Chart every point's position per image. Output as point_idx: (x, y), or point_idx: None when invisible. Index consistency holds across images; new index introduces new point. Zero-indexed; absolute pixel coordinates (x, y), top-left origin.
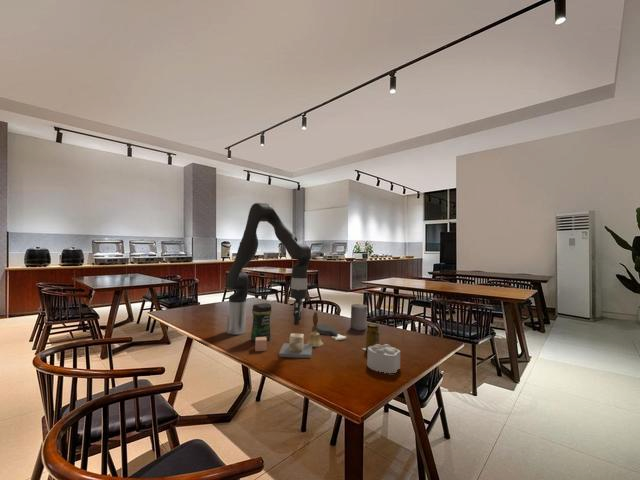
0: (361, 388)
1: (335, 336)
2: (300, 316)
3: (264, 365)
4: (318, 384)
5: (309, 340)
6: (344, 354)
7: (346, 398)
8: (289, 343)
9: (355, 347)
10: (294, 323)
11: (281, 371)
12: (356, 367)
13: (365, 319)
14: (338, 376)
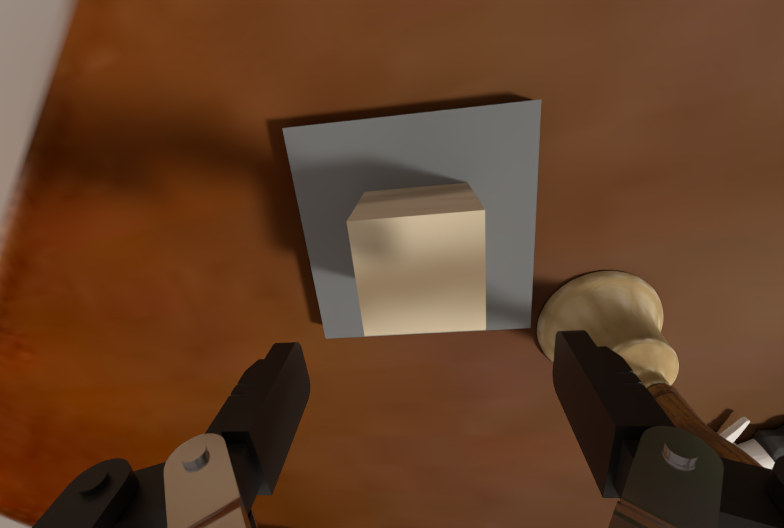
0: None
1: (758, 437)
2: (572, 429)
3: (106, 68)
4: (51, 384)
5: (603, 305)
6: (429, 467)
7: (10, 464)
8: (356, 206)
9: (548, 511)
10: (269, 357)
11: (82, 206)
12: (280, 500)
13: None
14: (162, 445)
